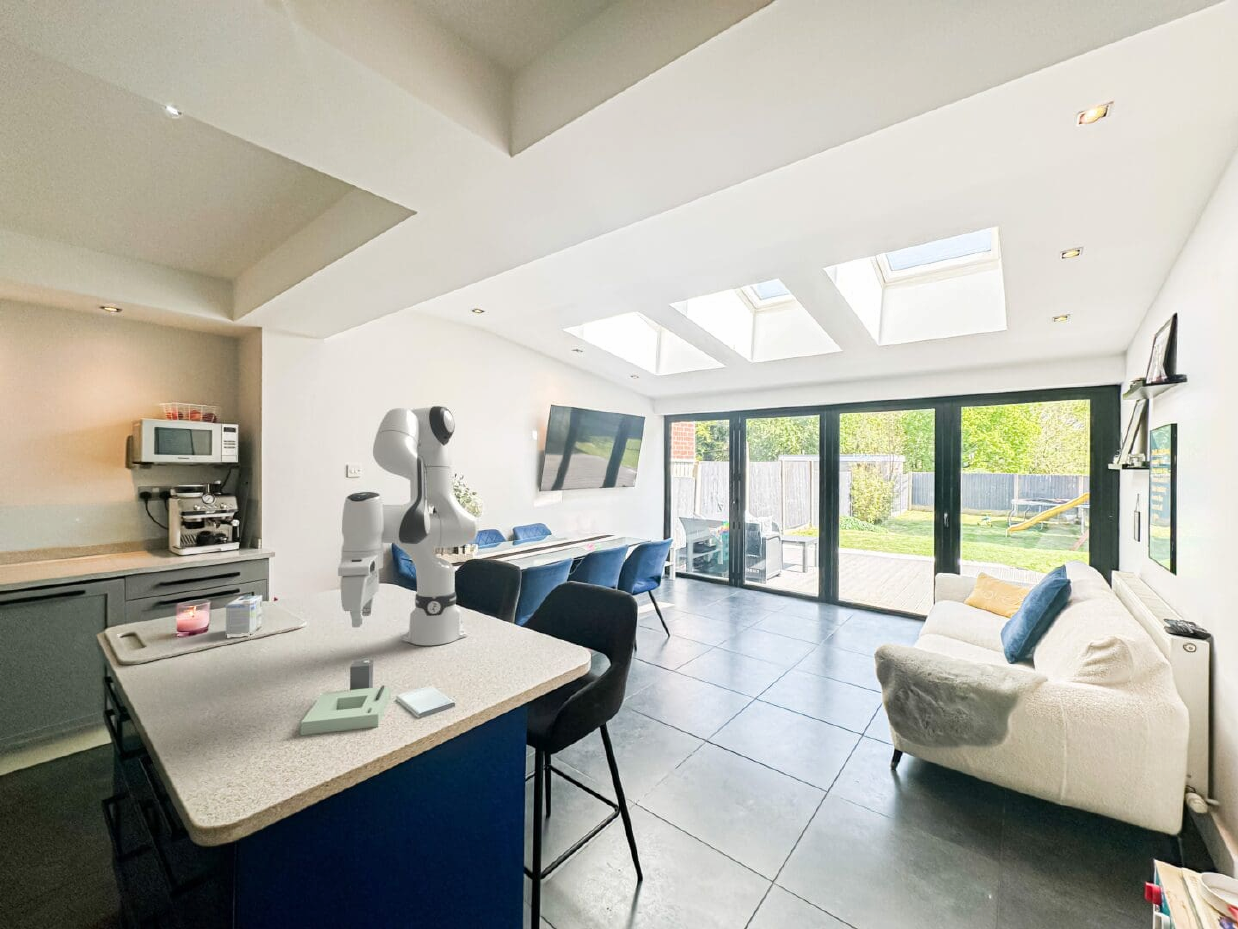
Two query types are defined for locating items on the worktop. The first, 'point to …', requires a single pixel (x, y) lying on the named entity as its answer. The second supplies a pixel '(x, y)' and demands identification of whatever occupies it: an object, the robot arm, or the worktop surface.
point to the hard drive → (425, 701)
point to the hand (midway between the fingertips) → (362, 620)
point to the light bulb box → (243, 614)
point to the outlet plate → (347, 710)
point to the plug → (361, 674)
